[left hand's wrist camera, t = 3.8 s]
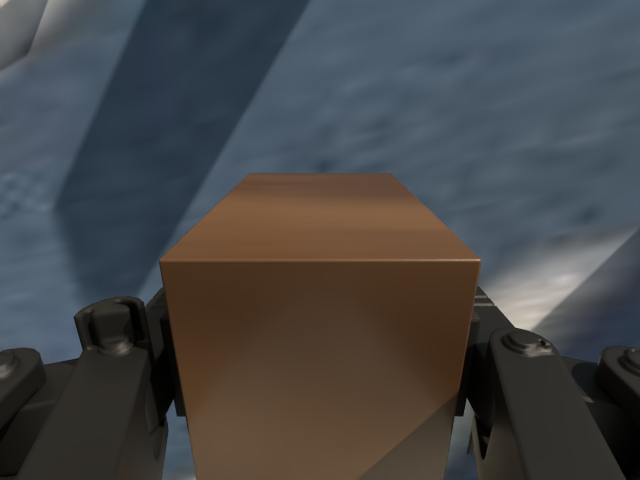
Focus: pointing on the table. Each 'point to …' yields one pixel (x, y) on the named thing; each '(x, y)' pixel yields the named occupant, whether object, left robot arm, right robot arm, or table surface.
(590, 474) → the left robot arm
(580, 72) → the table surface
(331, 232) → the bar
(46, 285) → the table surface
